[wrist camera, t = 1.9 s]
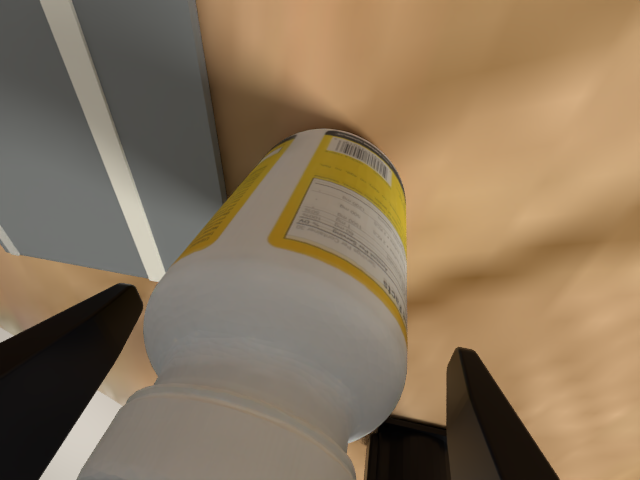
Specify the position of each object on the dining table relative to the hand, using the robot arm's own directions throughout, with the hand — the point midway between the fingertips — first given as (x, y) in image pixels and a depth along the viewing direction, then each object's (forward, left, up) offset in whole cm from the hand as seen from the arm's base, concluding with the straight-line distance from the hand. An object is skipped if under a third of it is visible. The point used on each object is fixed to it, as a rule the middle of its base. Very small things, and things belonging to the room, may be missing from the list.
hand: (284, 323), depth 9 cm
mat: (+13, 0, -7) cm, 15 cm away
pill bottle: (0, 0, -7) cm, 7 cm away
